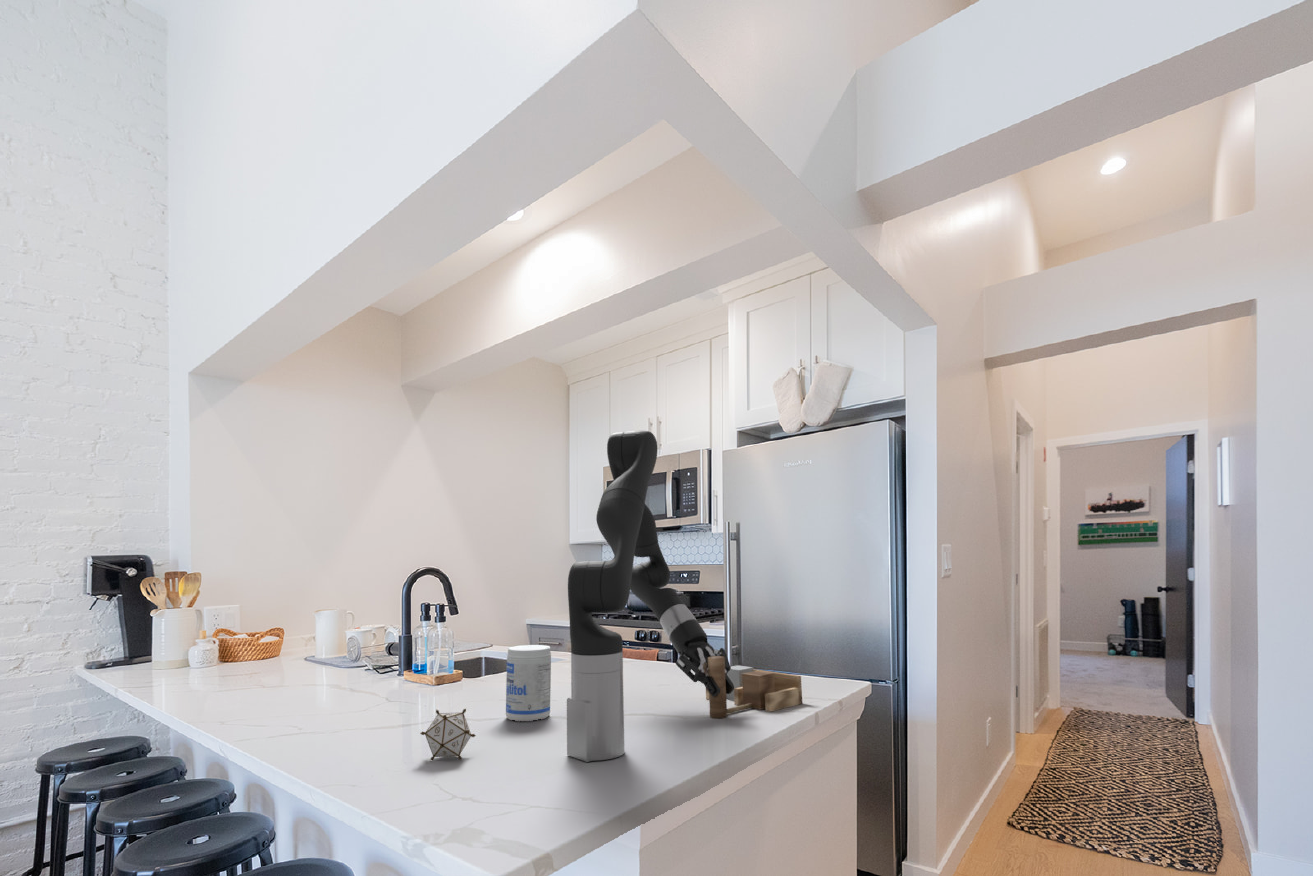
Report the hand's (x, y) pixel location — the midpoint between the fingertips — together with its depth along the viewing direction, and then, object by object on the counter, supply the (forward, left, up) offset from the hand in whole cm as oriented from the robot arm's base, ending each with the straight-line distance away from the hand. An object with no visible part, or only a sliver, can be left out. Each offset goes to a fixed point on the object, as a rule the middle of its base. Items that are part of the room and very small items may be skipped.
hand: (724, 692), depth 148 cm
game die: (-54, +15, -5) cm, 57 cm away
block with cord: (+7, +2, -5) cm, 9 cm away
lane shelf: (+16, +7, -5) cm, 18 cm away
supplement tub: (-28, +32, -5) cm, 43 cm away
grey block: (+17, +11, -5) cm, 21 cm away
